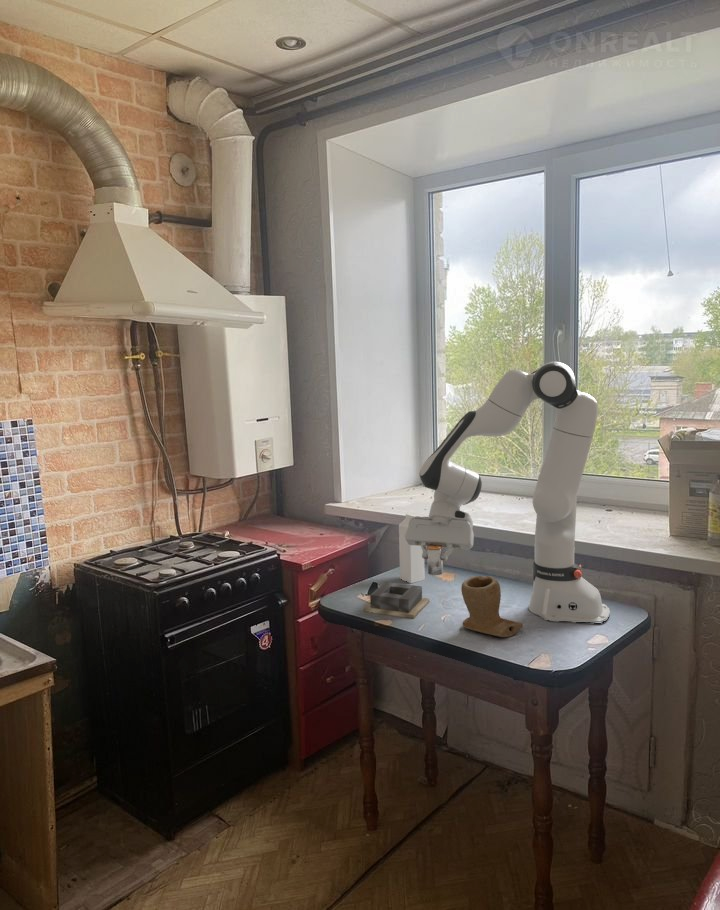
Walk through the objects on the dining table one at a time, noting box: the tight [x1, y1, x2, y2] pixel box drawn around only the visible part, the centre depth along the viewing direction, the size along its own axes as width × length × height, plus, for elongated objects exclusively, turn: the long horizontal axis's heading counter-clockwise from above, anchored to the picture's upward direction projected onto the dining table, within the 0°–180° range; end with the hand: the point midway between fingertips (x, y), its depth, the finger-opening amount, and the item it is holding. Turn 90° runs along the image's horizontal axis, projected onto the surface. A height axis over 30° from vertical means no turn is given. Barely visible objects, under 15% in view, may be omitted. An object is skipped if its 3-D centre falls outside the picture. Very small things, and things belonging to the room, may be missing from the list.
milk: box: [398, 513, 426, 584], centre depth 227 cm, size 6×6×22 cm
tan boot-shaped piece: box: [461, 575, 524, 638], centre depth 183 cm, size 15×12×15 cm
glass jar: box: [426, 544, 444, 576], centre depth 197 cm, size 4×4×8 cm
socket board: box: [362, 581, 430, 619], centre depth 204 cm, size 16×14×5 cm
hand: (434, 558), depth 197 cm, fingers closed on glass jar, 4 cm apart
